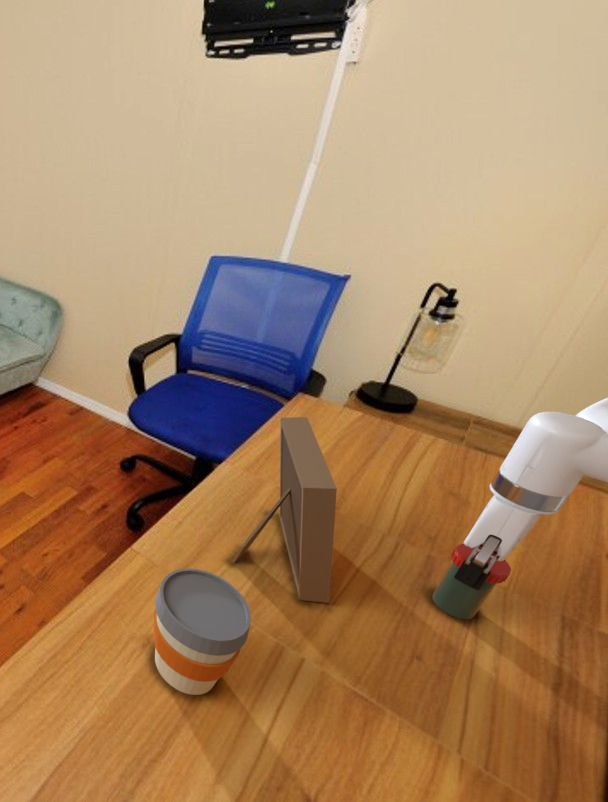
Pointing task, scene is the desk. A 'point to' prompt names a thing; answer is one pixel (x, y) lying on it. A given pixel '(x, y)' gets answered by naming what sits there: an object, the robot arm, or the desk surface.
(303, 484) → the photo frame
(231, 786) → the desk surface
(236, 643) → the reusable coffee cup
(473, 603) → the jam jar
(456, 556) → the jam lid
